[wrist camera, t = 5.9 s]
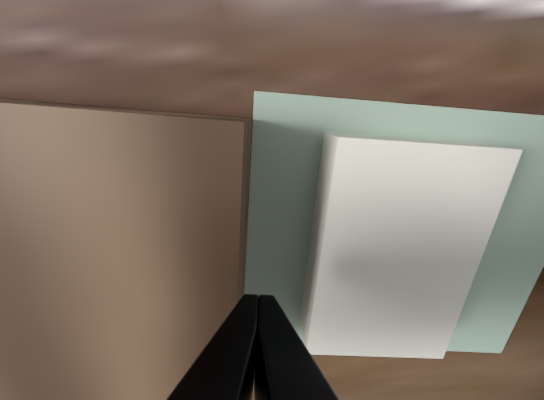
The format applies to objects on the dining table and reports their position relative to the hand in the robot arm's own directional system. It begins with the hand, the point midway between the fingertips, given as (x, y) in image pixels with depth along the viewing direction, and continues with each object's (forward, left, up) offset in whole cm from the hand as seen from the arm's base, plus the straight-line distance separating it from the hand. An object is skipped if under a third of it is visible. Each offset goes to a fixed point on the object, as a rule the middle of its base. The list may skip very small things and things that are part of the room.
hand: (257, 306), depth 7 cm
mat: (-4, -5, -4) cm, 8 cm away
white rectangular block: (-3, -4, -2) cm, 6 cm away
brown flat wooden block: (+5, +6, -4) cm, 9 cm away
